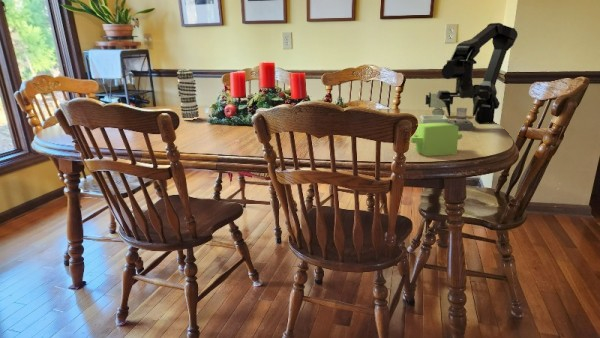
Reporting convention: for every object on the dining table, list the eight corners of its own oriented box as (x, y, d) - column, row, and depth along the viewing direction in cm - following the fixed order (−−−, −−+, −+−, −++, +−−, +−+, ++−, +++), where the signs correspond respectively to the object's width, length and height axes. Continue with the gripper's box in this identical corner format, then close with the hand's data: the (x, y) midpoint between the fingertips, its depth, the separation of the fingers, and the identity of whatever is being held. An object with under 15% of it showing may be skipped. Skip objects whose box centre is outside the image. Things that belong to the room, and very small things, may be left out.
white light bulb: (464, 127, 167) (465, 107, 165) (466, 129, 164) (467, 109, 161) (454, 127, 168) (455, 107, 165) (456, 129, 164) (457, 109, 162)
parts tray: (444, 120, 180) (444, 114, 179) (447, 125, 172) (448, 119, 171) (420, 121, 182) (420, 115, 181) (422, 125, 173) (422, 119, 172)
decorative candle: (203, 118, 211) (197, 68, 203) (187, 121, 205) (181, 70, 197) (193, 116, 217) (187, 68, 210) (178, 119, 211) (171, 69, 203)
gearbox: (454, 147, 141) (456, 120, 139) (469, 153, 132) (472, 124, 129) (404, 150, 139) (405, 122, 137) (416, 157, 130) (417, 127, 127)
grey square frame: (468, 125, 169) (468, 119, 168) (472, 130, 162) (473, 123, 161) (448, 126, 170) (448, 120, 169) (452, 130, 163) (452, 124, 162)
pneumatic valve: (424, 115, 193) (426, 89, 189) (451, 115, 190) (452, 89, 186) (425, 117, 188) (426, 91, 184) (452, 118, 185) (454, 91, 181)
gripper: (442, 79, 154) (440, 120, 158) (495, 78, 150) (491, 119, 155) (438, 76, 164) (436, 115, 169) (487, 75, 161) (484, 114, 166)
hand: (461, 116), depth 164 cm, fingers open, 9 cm apart
